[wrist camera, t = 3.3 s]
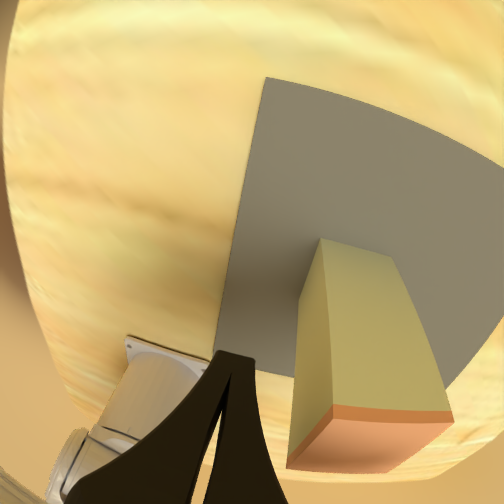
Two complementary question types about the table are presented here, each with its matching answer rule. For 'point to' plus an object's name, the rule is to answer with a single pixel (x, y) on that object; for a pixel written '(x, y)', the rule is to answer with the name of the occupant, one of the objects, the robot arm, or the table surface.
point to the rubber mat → (362, 223)
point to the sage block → (361, 368)
